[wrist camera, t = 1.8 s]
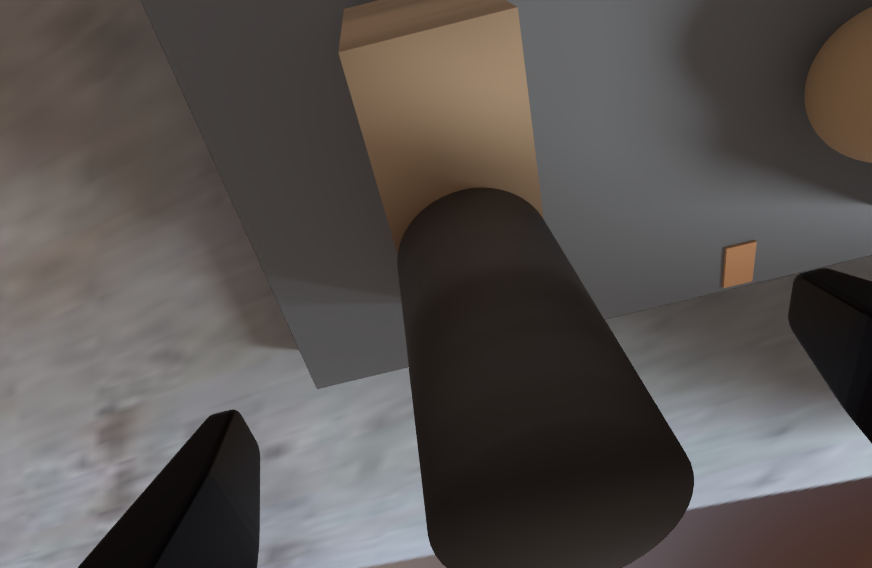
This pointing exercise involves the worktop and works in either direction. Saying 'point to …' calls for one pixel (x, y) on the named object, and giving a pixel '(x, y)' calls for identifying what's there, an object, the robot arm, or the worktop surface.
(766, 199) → the cracker base
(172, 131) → the worktop surface
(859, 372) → the robot arm
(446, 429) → the lever handle
